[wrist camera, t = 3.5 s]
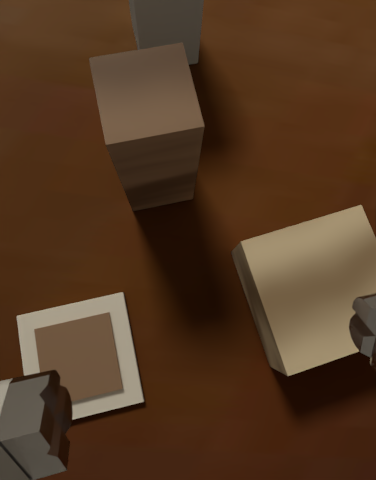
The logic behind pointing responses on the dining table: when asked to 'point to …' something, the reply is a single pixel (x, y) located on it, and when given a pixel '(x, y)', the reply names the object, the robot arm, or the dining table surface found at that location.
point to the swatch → (85, 352)
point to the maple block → (308, 287)
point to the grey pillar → (168, 24)
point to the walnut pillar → (150, 122)
